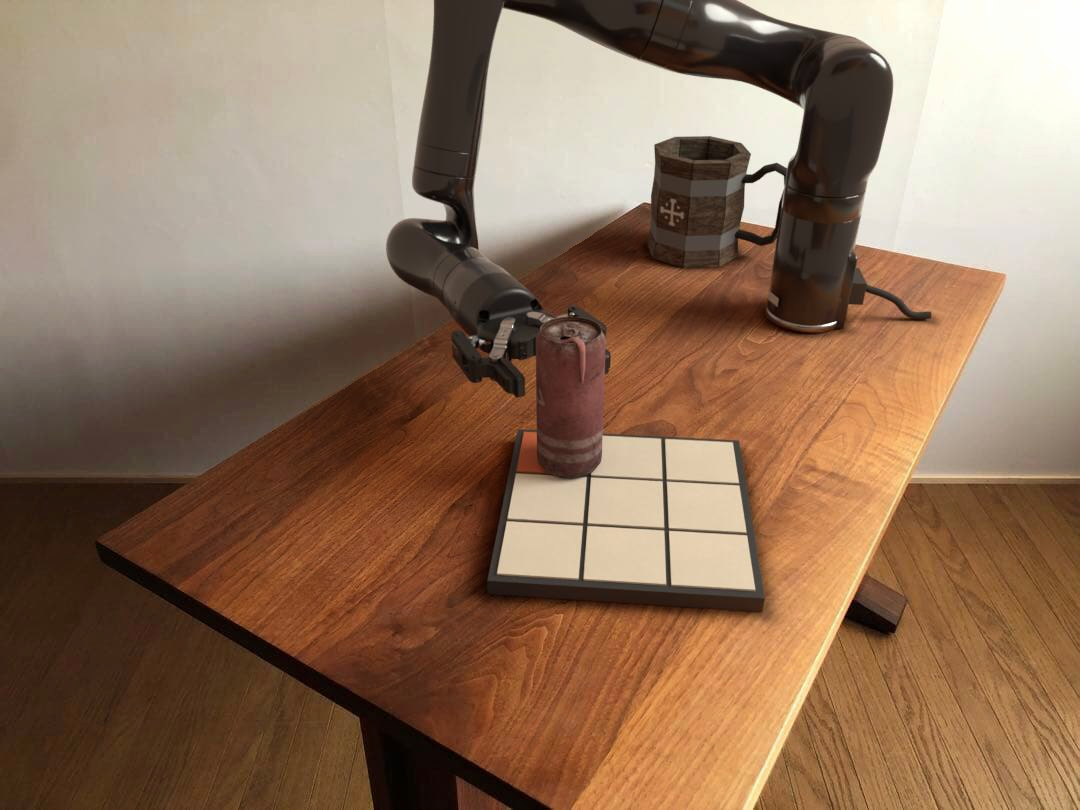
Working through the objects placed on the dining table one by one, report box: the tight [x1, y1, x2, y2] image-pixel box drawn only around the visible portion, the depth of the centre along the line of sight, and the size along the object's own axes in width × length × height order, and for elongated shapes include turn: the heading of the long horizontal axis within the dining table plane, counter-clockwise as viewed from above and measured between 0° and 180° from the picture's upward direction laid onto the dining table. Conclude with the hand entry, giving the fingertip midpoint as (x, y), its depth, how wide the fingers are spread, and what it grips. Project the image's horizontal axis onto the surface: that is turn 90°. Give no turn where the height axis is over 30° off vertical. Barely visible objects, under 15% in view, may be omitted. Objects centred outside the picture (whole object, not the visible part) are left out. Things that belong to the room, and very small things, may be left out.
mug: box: [646, 135, 787, 269], centre depth 130 cm, size 20×14×15 cm
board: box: [486, 428, 766, 613], centre depth 82 cm, size 22×22×2 cm
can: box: [535, 317, 607, 478], centre depth 83 cm, size 6×6×14 cm
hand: (564, 377), depth 82 cm, fingers open, 8 cm apart
